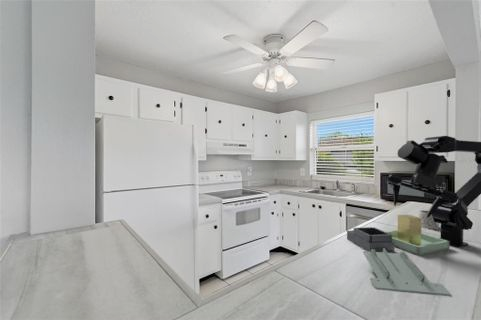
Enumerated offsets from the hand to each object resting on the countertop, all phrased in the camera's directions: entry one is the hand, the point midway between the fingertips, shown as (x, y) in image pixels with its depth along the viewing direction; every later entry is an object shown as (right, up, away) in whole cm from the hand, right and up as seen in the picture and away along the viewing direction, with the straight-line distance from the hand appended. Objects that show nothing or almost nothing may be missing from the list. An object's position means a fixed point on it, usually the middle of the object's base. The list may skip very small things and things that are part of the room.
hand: (410, 211), depth 73 cm
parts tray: (+1, -11, 0) cm, 11 cm away
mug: (+25, -12, +21) cm, 35 cm away
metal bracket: (-20, -12, -21) cm, 31 cm away
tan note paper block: (0, -11, 0) cm, 11 cm away
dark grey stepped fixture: (-15, -11, -1) cm, 19 cm away
